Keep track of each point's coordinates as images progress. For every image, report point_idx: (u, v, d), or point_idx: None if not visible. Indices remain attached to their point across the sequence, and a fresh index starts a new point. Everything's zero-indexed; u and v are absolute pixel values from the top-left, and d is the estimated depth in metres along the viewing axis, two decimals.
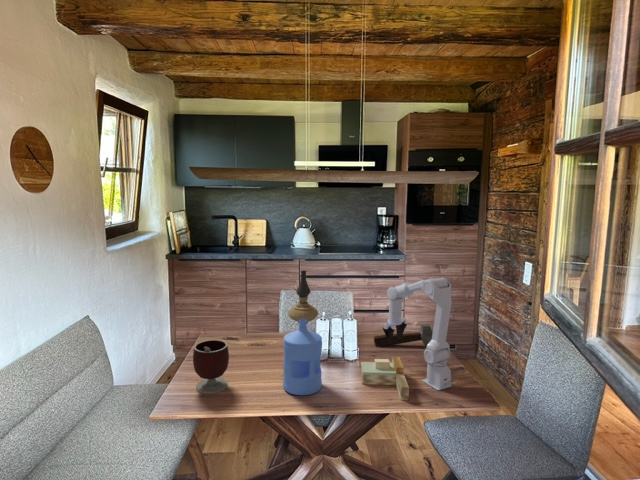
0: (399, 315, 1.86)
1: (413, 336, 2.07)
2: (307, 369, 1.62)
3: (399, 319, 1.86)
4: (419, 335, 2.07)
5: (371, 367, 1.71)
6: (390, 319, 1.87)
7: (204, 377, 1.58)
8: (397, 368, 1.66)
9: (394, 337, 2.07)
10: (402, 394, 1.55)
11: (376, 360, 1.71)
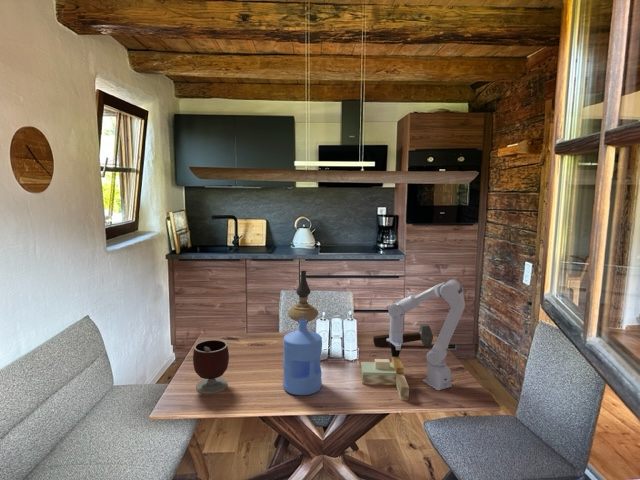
0: (402, 332, 1.76)
1: (412, 336, 2.08)
2: (307, 369, 1.62)
3: (402, 336, 1.76)
4: (418, 335, 2.08)
5: (371, 367, 1.71)
6: (395, 338, 1.74)
7: (204, 377, 1.58)
8: (397, 368, 1.66)
9: None
10: (402, 394, 1.55)
11: (376, 360, 1.71)
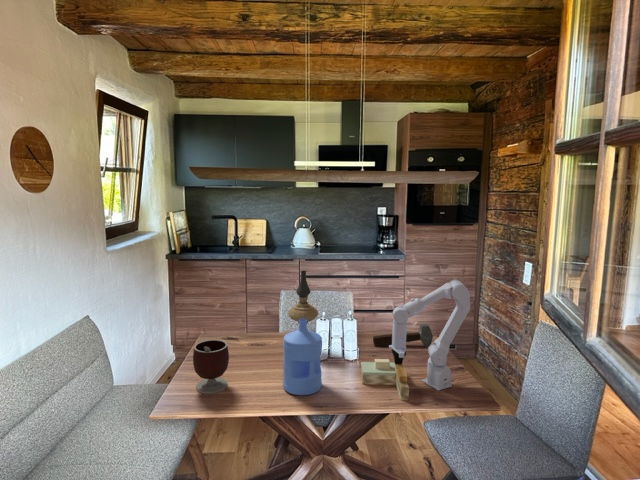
0: None
1: (412, 336, 2.08)
2: (307, 369, 1.62)
3: (405, 342, 1.69)
4: (418, 335, 2.08)
5: (371, 367, 1.71)
6: (398, 345, 1.66)
7: (204, 377, 1.58)
8: (400, 377, 1.58)
9: None
10: (402, 394, 1.55)
11: (376, 360, 1.71)
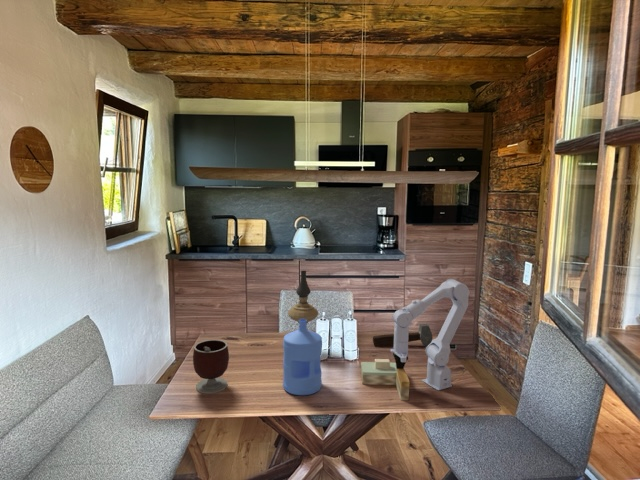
0: None
1: (412, 336, 2.08)
2: (307, 369, 1.62)
3: (407, 346, 1.65)
4: (418, 335, 2.08)
5: (371, 367, 1.71)
6: (400, 349, 1.62)
7: (204, 377, 1.58)
8: (402, 382, 1.54)
9: (393, 337, 2.07)
10: (402, 394, 1.55)
11: (376, 360, 1.71)
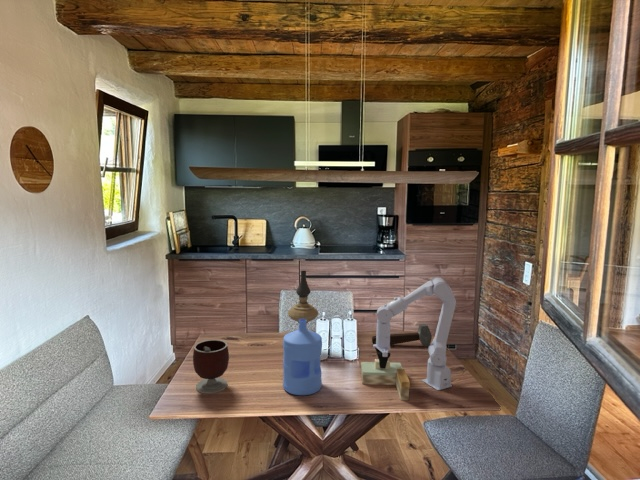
0: (389, 337, 1.70)
1: (411, 336, 2.08)
2: (307, 369, 1.62)
3: (389, 342, 1.70)
4: (417, 335, 2.08)
5: (371, 367, 1.71)
6: (382, 344, 1.68)
7: (204, 377, 1.58)
8: (402, 382, 1.54)
9: (392, 337, 2.07)
10: (402, 394, 1.55)
11: (376, 360, 1.71)
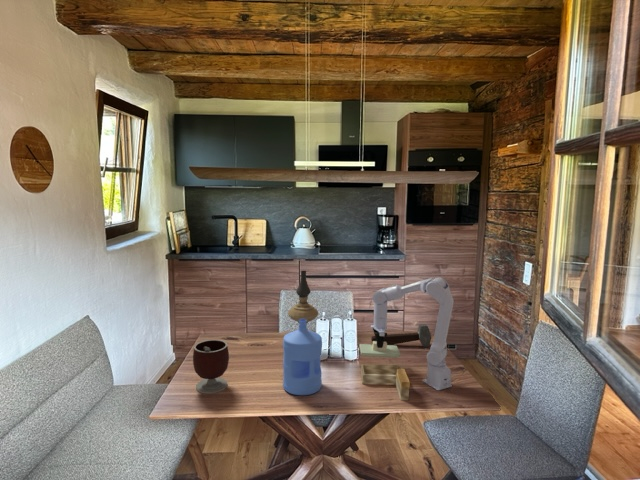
0: (386, 318, 1.79)
1: (411, 336, 2.07)
2: (307, 369, 1.62)
3: (386, 322, 1.79)
4: (417, 335, 2.07)
5: (369, 349, 1.81)
6: (379, 325, 1.77)
7: (204, 377, 1.58)
8: (402, 382, 1.54)
9: (392, 337, 2.07)
10: (402, 394, 1.55)
11: (374, 342, 1.81)
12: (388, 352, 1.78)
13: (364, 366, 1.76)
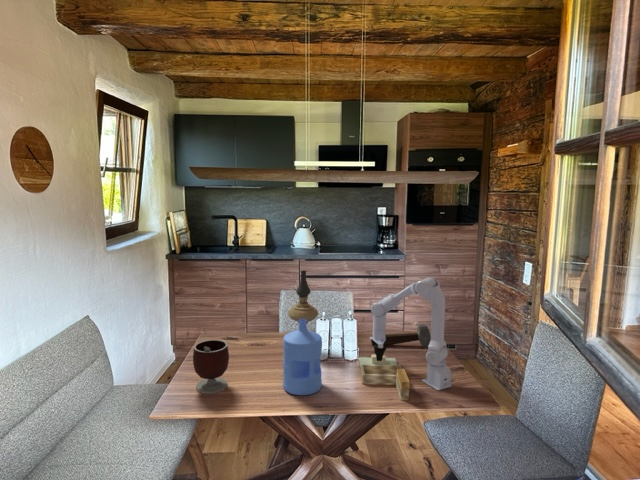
0: (385, 330, 1.83)
1: (410, 336, 2.07)
2: (307, 369, 1.62)
3: None
4: (416, 335, 2.07)
5: (368, 362, 1.85)
6: (378, 337, 1.81)
7: (204, 377, 1.58)
8: (402, 382, 1.54)
9: (391, 337, 2.07)
10: (402, 394, 1.55)
11: (373, 355, 1.85)
12: None
13: (364, 366, 1.76)
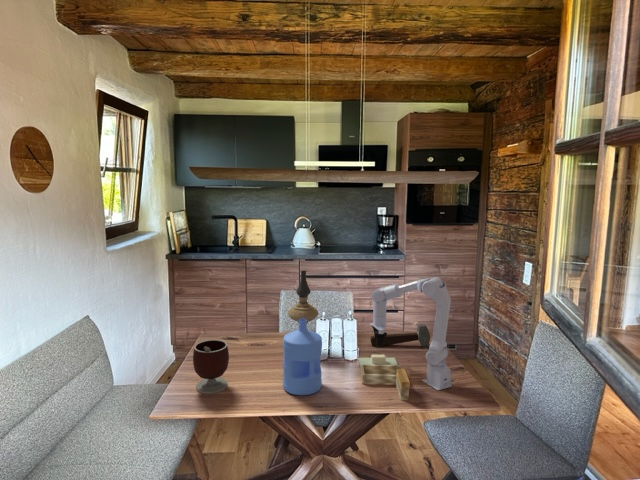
0: (385, 316, 1.82)
1: (410, 336, 2.07)
2: (307, 369, 1.62)
3: (385, 320, 1.82)
4: (416, 335, 2.07)
5: (368, 362, 1.85)
6: (378, 323, 1.80)
7: (204, 377, 1.58)
8: (402, 382, 1.54)
9: (391, 337, 2.07)
10: (402, 394, 1.55)
11: (373, 356, 1.85)
12: None
13: (364, 366, 1.76)
